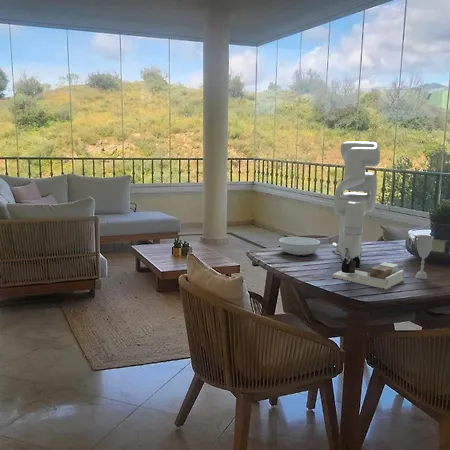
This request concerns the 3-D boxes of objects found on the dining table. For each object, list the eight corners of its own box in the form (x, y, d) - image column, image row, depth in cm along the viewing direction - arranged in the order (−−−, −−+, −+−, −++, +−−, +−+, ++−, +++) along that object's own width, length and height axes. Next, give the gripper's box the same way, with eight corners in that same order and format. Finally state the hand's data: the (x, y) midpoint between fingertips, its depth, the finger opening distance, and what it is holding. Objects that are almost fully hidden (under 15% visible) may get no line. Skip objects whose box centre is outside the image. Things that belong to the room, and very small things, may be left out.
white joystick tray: (332, 277, 213) (333, 261, 212) (350, 269, 226) (351, 255, 225) (386, 289, 198) (388, 272, 197) (403, 280, 211) (404, 264, 209)
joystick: (343, 274, 211) (344, 261, 210) (349, 271, 216) (350, 258, 215) (383, 283, 200) (384, 269, 199) (389, 280, 204) (390, 266, 203)
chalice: (421, 280, 211) (425, 238, 208) (409, 276, 217) (412, 235, 214) (433, 278, 215) (437, 237, 211) (421, 274, 221) (424, 234, 217)
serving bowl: (328, 254, 254) (328, 241, 253) (299, 260, 241) (300, 246, 240) (297, 247, 270) (298, 234, 269) (270, 252, 257) (270, 239, 256)
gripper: (354, 227, 218) (351, 265, 221) (335, 232, 205) (332, 272, 208) (370, 229, 213) (367, 268, 216) (352, 234, 200) (349, 276, 203)
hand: (350, 270), depth 212 cm, fingers open, 9 cm apart
